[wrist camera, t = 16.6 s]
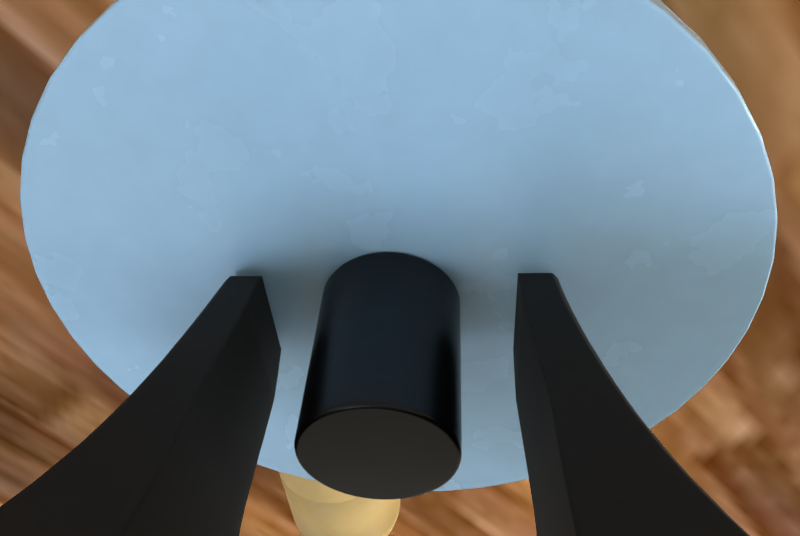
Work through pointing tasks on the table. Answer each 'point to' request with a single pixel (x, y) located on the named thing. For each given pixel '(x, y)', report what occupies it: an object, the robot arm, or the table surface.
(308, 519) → the potato
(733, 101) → the lid
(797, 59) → the table surface
